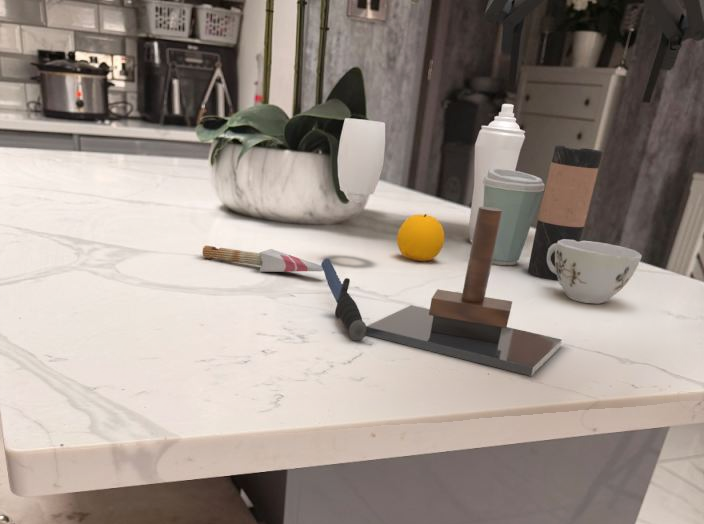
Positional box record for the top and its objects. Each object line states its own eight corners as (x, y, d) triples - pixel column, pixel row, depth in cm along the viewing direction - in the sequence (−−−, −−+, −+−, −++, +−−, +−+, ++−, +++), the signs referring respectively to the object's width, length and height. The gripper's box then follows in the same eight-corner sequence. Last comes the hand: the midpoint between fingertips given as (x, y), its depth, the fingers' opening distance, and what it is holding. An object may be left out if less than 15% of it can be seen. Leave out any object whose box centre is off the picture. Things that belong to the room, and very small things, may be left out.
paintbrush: (320, 261, 108) (198, 243, 114) (319, 280, 109) (199, 262, 116) (331, 257, 111) (211, 240, 118) (329, 276, 112) (212, 258, 119)
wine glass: (379, 263, 126) (397, 124, 116) (354, 268, 121) (371, 122, 111) (343, 254, 130) (358, 118, 120) (318, 259, 124) (331, 117, 114)
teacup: (643, 307, 118) (660, 253, 114) (595, 313, 111) (611, 257, 107) (564, 283, 128) (577, 233, 124) (515, 287, 121) (527, 235, 117)
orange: (420, 253, 138) (427, 209, 134) (449, 263, 132) (457, 218, 129) (385, 254, 134) (392, 209, 130) (413, 264, 128) (421, 217, 125)
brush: (505, 334, 92) (532, 211, 85) (502, 345, 88) (531, 217, 81) (431, 321, 94) (452, 200, 87) (425, 332, 90) (447, 205, 83)
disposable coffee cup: (539, 266, 138) (560, 177, 131) (501, 270, 132) (521, 176, 124) (494, 254, 145) (511, 168, 138) (456, 256, 139) (472, 167, 131)
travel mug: (555, 282, 128) (587, 151, 118) (517, 271, 132) (545, 144, 122) (578, 278, 132) (612, 152, 123) (541, 268, 137) (570, 146, 127)
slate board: (560, 347, 93) (562, 339, 93) (530, 376, 82) (533, 367, 82) (409, 312, 101) (411, 305, 100) (364, 334, 90) (365, 326, 89)
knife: (355, 308, 84) (343, 349, 87) (375, 311, 85) (362, 352, 88) (318, 238, 103) (309, 274, 106) (335, 242, 104) (326, 277, 107)
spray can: (453, 241, 152) (478, 100, 140) (461, 234, 161) (485, 101, 149) (511, 251, 150) (542, 107, 138) (516, 243, 159) (545, 108, 146)
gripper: (456, -116, 61) (452, 99, 81) (794, -98, 55) (700, 128, 75) (478, -181, 63) (469, 44, 83) (808, -171, 57) (713, 69, 77)
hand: (579, 85), depth 79 cm, fingers open, 13 cm apart
